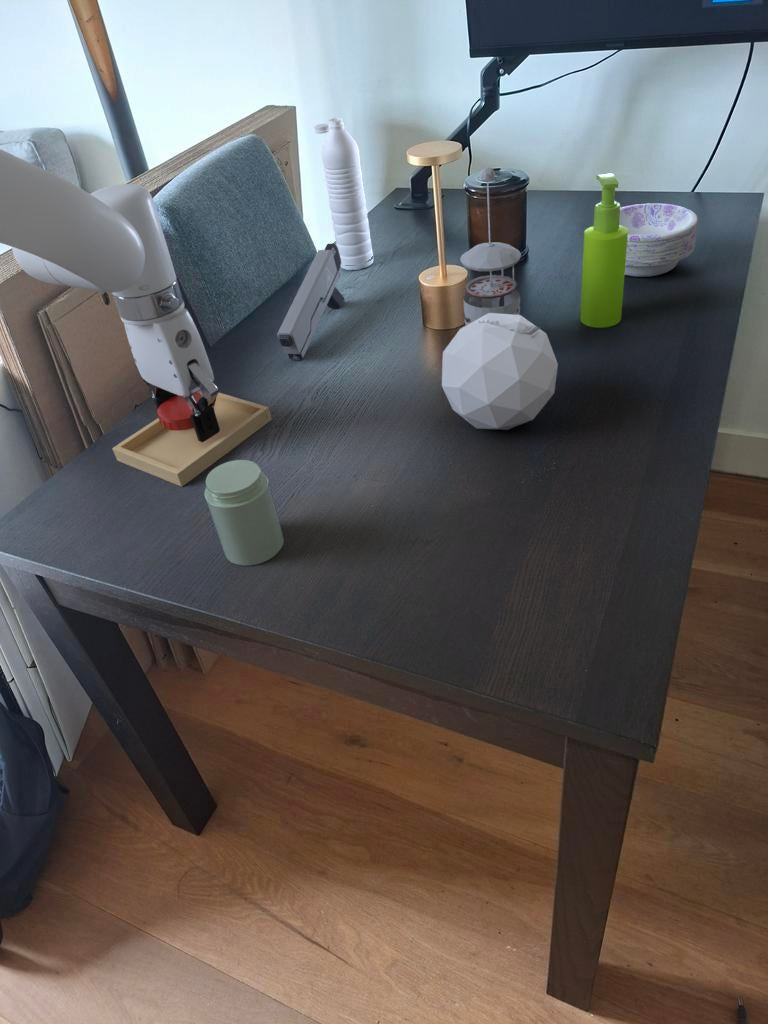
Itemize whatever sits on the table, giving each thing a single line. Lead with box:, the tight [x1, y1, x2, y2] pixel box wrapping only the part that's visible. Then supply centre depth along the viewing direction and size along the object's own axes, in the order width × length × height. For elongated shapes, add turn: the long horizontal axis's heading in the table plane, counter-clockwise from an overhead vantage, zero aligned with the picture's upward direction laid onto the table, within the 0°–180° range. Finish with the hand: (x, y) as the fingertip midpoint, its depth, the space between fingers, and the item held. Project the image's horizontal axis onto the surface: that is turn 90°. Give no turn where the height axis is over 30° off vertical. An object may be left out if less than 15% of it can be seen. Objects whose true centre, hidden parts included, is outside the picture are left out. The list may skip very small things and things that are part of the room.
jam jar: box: [203, 459, 285, 567], centre depth 79 cm, size 7×7×9 cm
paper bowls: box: [619, 203, 699, 278], centre depth 124 cm, size 15×15×8 cm
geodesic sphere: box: [441, 313, 559, 431], centre depth 91 cm, size 15×14×14 cm
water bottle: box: [313, 117, 374, 271], centre depth 134 cm, size 9×6×25 cm
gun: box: [276, 243, 345, 361], centre depth 121 cm, size 2×25×10 cm, turn 164°
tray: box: [111, 392, 273, 488], centre depth 100 cm, size 17×13×2 cm
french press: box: [459, 167, 522, 326], centre depth 103 cm, size 10×12×25 cm
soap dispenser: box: [579, 173, 628, 329], centre depth 108 cm, size 6×7×20 cm
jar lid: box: [157, 391, 214, 431], centre depth 98 cm, size 7×7×2 cm
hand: (191, 427), depth 99 cm, fingers closed on jar lid, 6 cm apart
